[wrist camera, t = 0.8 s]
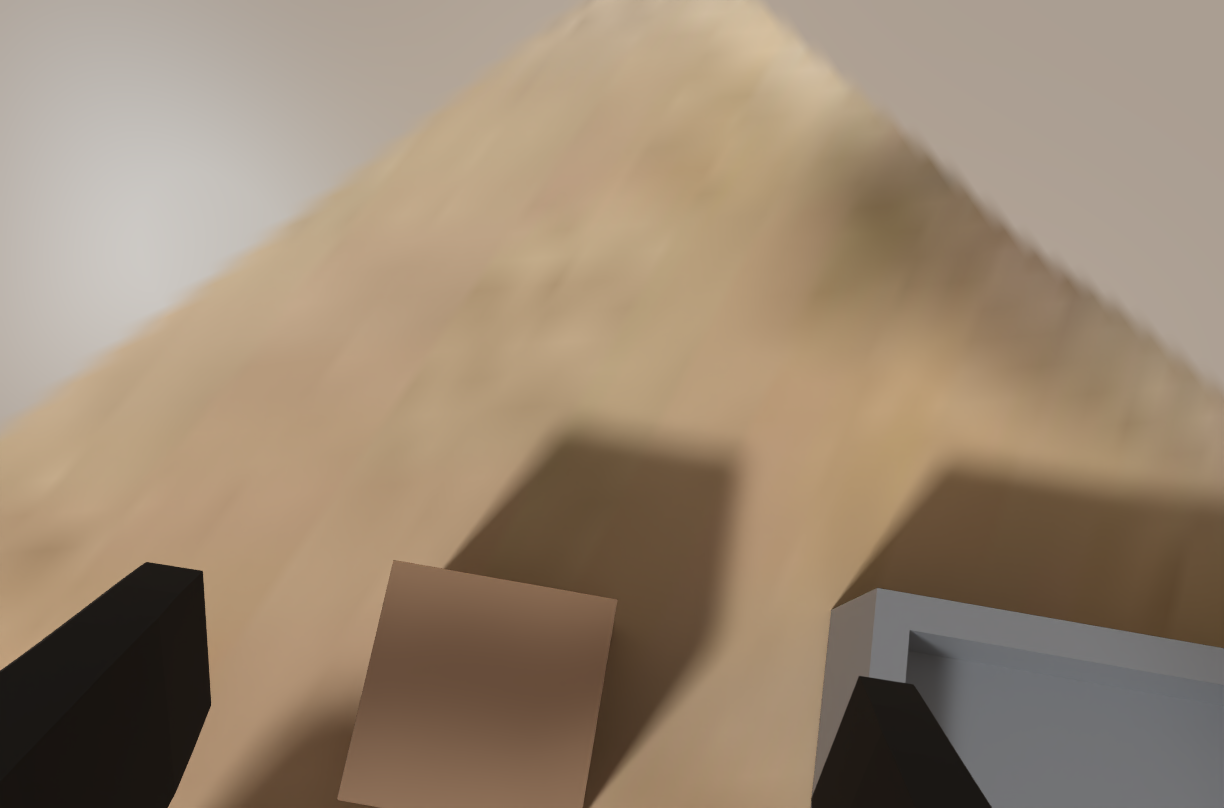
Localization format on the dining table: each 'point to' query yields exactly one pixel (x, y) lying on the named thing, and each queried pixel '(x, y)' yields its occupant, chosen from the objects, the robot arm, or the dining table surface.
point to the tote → (1041, 701)
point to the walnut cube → (478, 694)
